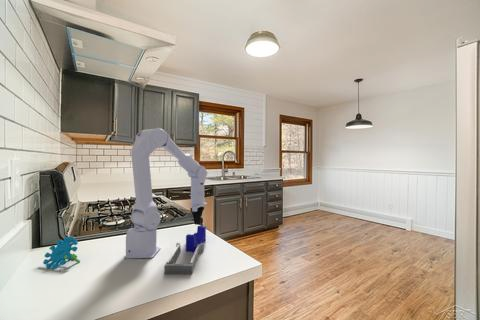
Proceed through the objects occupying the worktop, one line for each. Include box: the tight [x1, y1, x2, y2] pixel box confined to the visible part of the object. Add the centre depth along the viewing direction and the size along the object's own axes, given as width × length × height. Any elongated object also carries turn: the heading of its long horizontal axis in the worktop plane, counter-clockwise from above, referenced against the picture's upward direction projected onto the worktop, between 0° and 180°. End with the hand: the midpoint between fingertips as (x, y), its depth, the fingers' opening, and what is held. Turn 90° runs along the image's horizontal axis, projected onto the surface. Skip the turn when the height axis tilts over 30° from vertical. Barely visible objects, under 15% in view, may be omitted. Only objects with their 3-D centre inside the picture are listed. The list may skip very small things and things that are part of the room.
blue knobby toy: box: [42, 236, 81, 270], centre depth 72 cm, size 11×6×10 cm
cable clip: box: [185, 225, 207, 254], centre depth 86 cm, size 12×4×6 cm, turn 168°
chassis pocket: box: [163, 242, 205, 275], centre depth 74 cm, size 10×17×3 cm, turn 1°
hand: (197, 224), depth 98 cm, fingers closed
